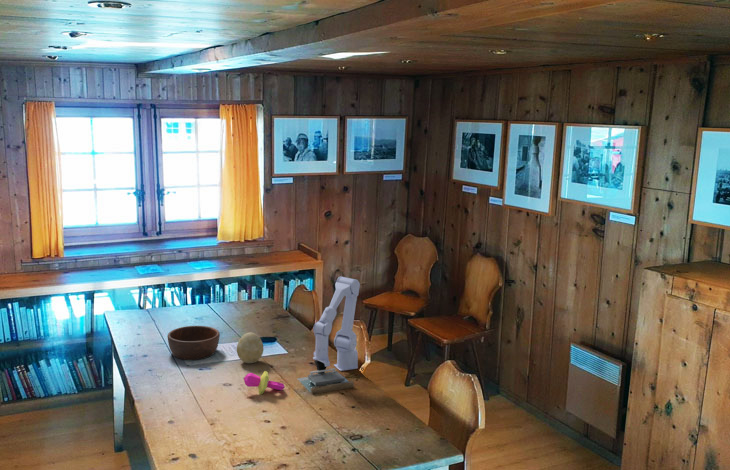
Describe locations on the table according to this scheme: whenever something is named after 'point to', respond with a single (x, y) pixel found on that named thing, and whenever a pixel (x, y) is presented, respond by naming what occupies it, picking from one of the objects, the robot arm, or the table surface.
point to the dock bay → (325, 386)
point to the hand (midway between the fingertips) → (321, 375)
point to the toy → (262, 382)
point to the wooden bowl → (193, 342)
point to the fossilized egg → (250, 348)
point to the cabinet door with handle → (325, 377)
